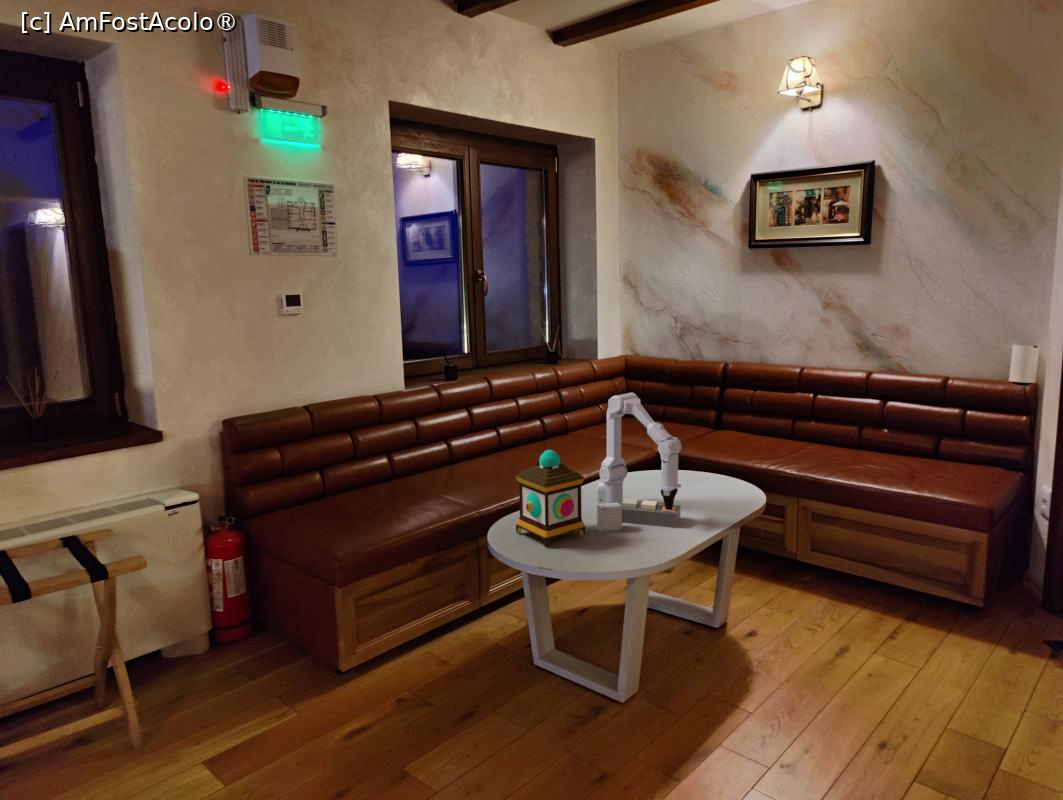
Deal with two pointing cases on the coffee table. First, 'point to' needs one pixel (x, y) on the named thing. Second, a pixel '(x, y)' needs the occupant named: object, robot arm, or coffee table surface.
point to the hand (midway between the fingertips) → (668, 509)
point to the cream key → (649, 505)
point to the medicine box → (609, 516)
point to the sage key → (630, 503)
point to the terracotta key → (669, 510)
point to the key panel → (651, 516)
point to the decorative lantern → (550, 499)
